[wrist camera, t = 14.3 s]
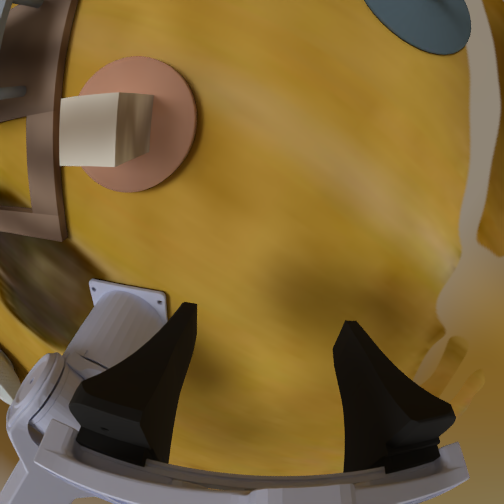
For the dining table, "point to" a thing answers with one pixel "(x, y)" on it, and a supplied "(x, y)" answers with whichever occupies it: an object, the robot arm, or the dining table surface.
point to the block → (104, 128)
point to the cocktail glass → (426, 22)
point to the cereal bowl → (8, 379)
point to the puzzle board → (37, 110)
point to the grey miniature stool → (0, 9)
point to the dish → (162, 123)
